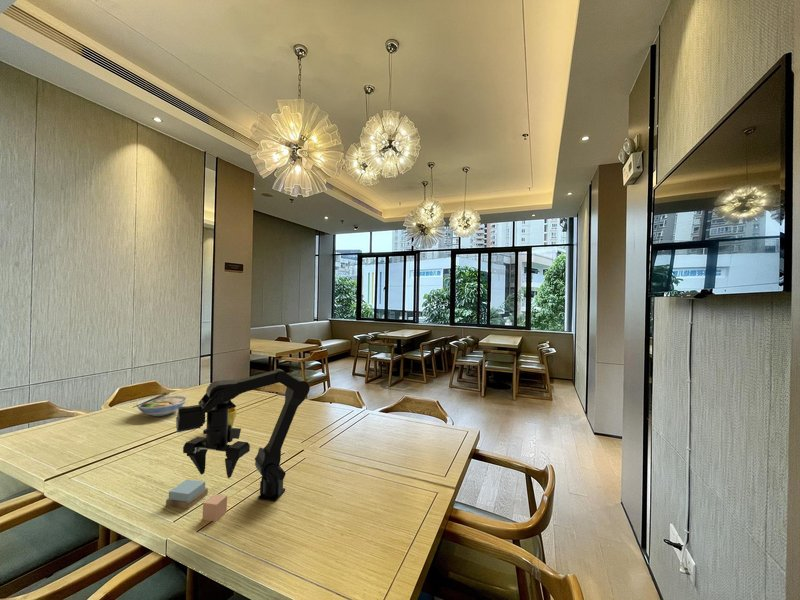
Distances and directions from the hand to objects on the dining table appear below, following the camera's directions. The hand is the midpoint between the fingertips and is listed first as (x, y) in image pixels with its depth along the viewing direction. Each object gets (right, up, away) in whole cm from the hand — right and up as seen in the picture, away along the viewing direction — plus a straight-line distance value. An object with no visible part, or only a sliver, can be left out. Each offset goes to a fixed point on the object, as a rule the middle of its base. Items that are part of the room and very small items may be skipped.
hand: (215, 475), depth 97 cm
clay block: (0, -12, 0) cm, 12 cm away
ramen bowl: (-77, -11, +82) cm, 113 cm away
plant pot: (-32, -12, +62) cm, 71 cm away
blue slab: (-13, -10, +7) cm, 18 cm away
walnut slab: (-13, -12, +7) cm, 19 cm away
